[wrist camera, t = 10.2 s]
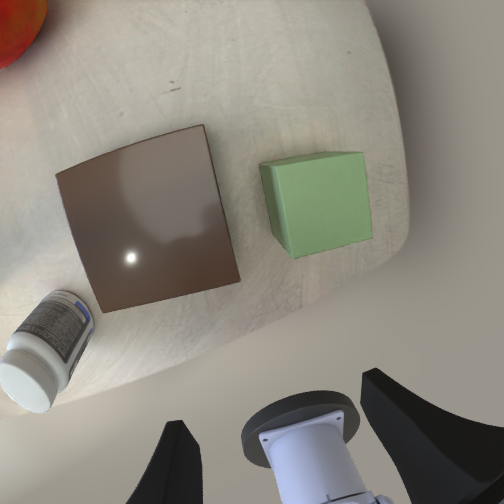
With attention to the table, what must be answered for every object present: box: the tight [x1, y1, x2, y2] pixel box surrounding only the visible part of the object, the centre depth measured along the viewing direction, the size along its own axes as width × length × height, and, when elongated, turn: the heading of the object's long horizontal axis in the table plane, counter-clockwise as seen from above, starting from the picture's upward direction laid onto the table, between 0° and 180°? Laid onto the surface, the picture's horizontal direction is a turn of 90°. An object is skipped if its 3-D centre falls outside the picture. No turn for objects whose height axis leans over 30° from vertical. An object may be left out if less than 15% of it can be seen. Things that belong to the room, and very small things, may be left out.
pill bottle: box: [0, 291, 94, 413], centre depth 14 cm, size 5×5×8 cm
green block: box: [259, 152, 372, 259], centre depth 16 cm, size 5×5×5 cm
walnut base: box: [55, 124, 241, 313], centre depth 15 cm, size 8×8×4 cm
